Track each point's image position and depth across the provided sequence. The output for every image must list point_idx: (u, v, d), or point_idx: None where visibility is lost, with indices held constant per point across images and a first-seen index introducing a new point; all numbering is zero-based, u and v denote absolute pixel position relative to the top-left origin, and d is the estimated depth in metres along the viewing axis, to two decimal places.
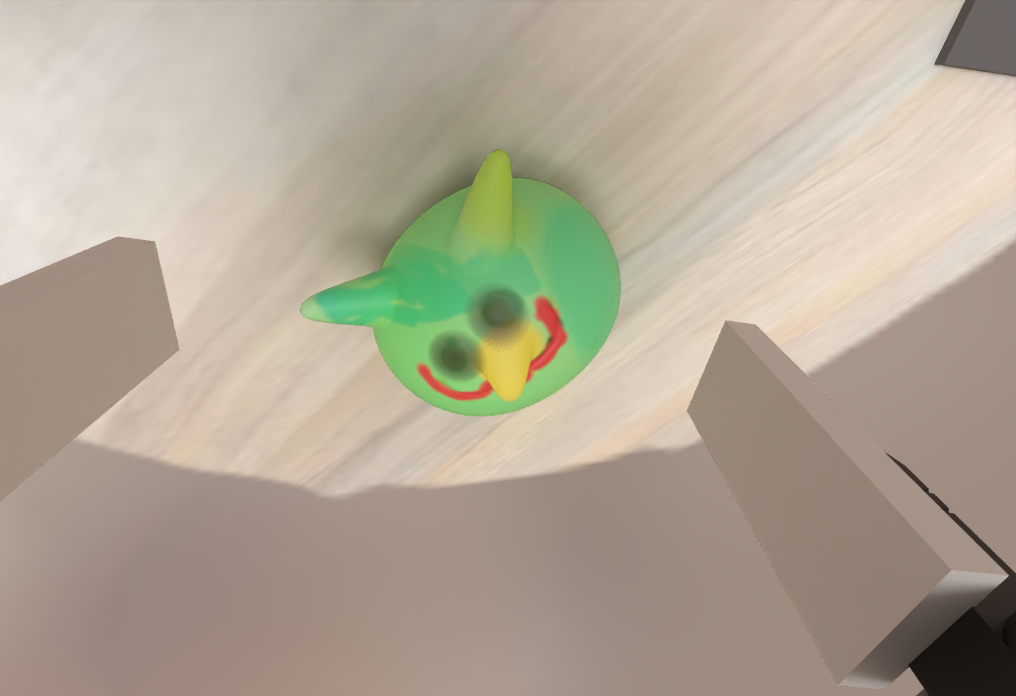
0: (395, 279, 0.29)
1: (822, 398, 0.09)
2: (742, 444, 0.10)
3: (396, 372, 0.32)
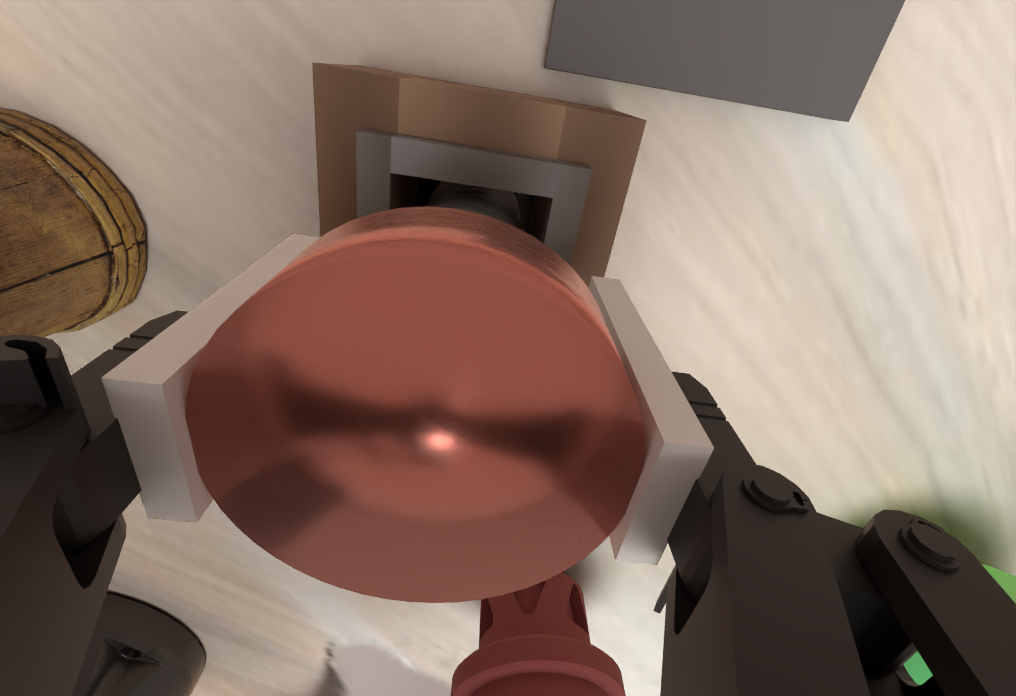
0: None
1: (641, 332, 0.10)
2: None
3: None
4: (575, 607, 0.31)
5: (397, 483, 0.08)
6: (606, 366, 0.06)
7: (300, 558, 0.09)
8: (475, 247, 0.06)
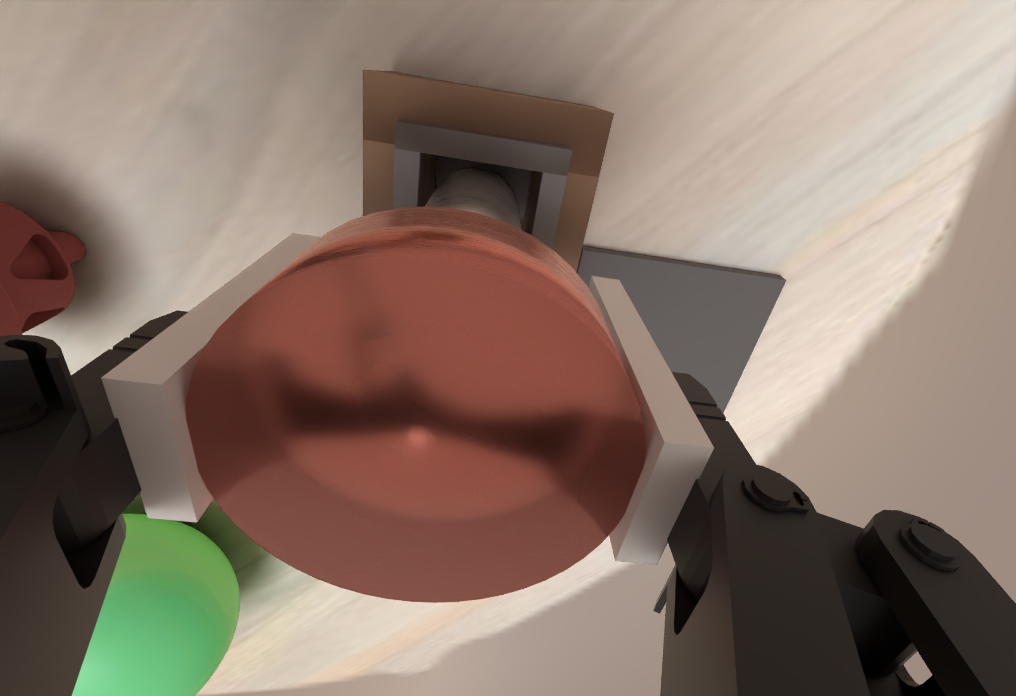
0: None
1: (641, 332, 0.10)
2: None
3: None
4: (30, 316, 0.26)
5: (397, 483, 0.08)
6: (607, 366, 0.06)
7: (300, 558, 0.09)
8: (476, 246, 0.06)
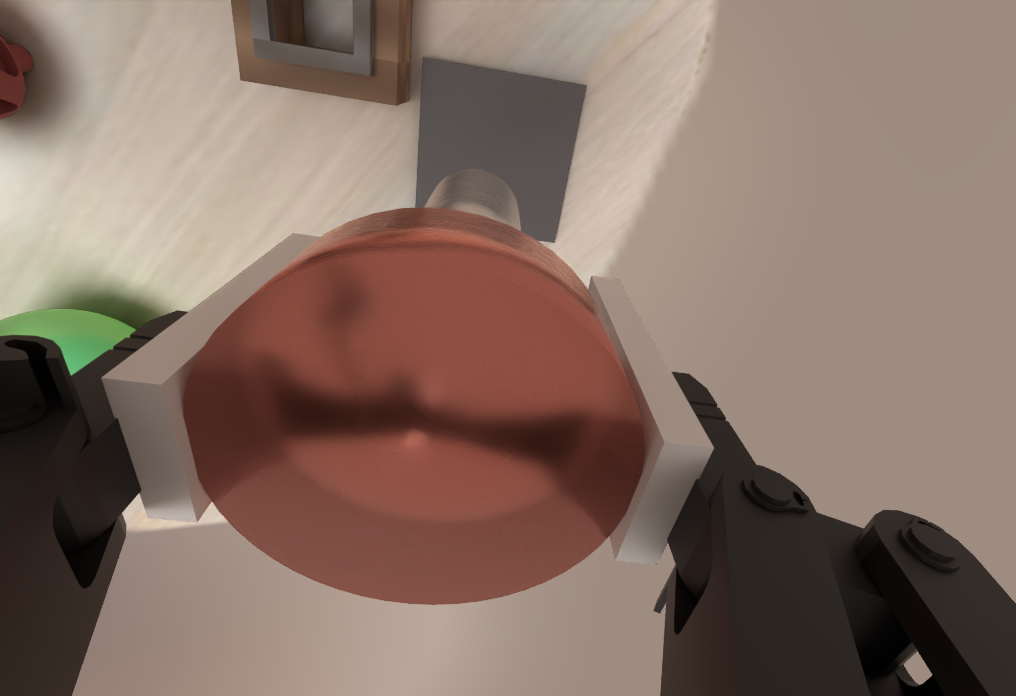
0: None
1: (641, 332, 0.10)
2: None
3: None
4: None
5: (395, 485, 0.08)
6: (606, 368, 0.06)
7: (298, 560, 0.08)
8: (474, 248, 0.06)
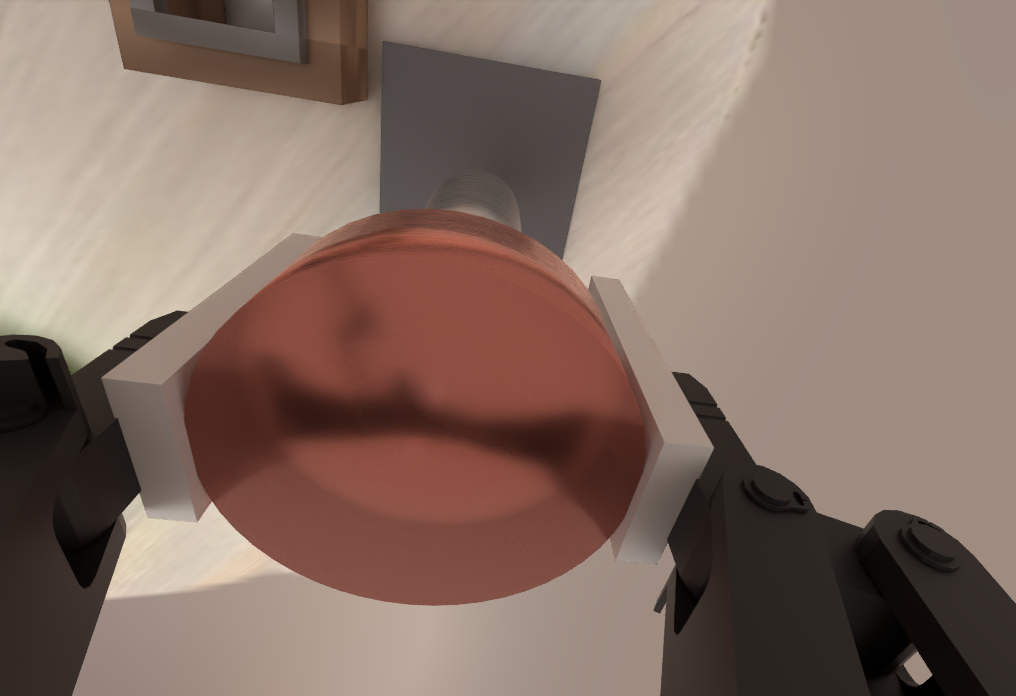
0: None
1: (641, 332, 0.10)
2: None
3: None
4: None
5: (396, 486, 0.08)
6: (607, 369, 0.06)
7: (299, 561, 0.08)
8: (475, 250, 0.06)
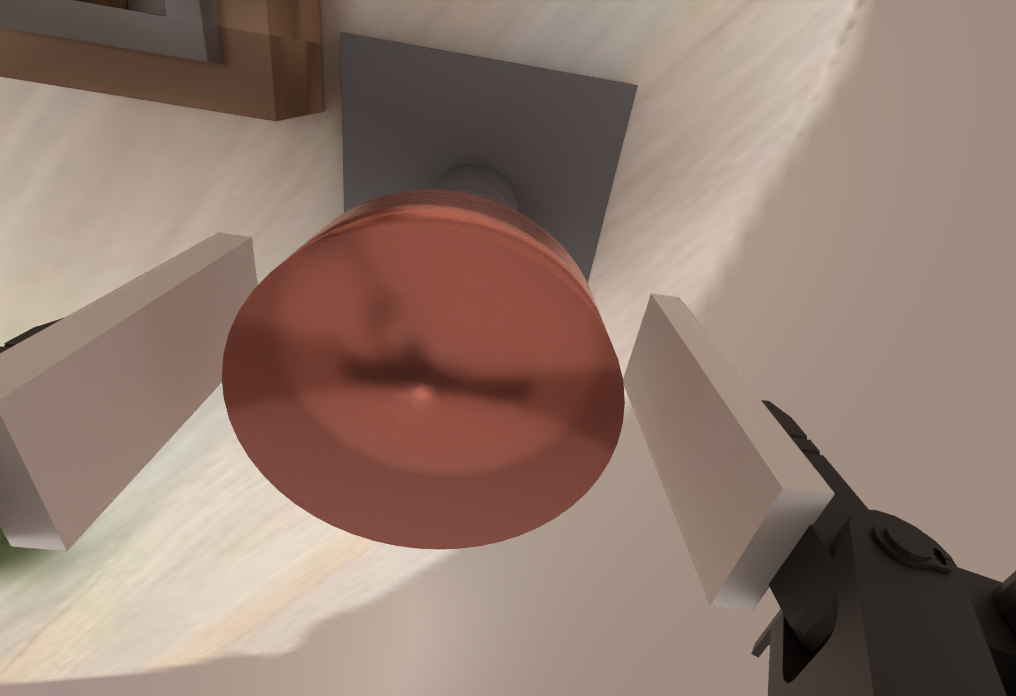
0: None
1: (719, 357, 0.09)
2: (658, 405, 0.11)
3: None
4: None
5: (406, 434, 0.09)
6: (589, 324, 0.07)
7: (318, 505, 0.09)
8: (475, 220, 0.07)
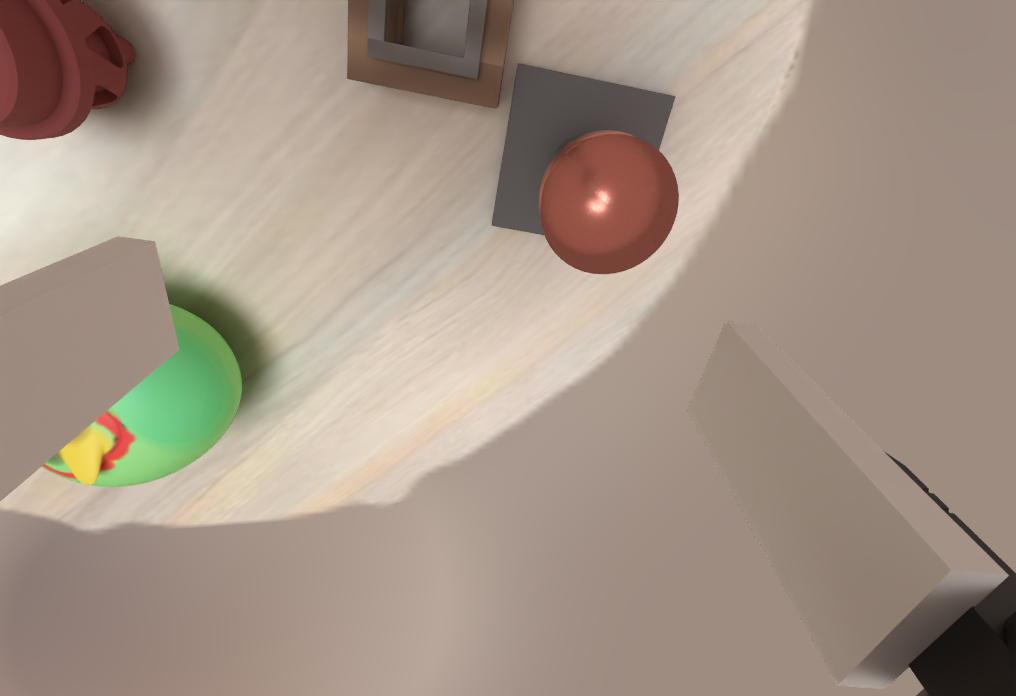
0: None
1: (822, 398, 0.09)
2: (743, 445, 0.10)
3: None
4: None
5: (600, 214, 0.24)
6: (669, 170, 0.23)
7: (559, 248, 0.25)
8: (633, 136, 0.23)
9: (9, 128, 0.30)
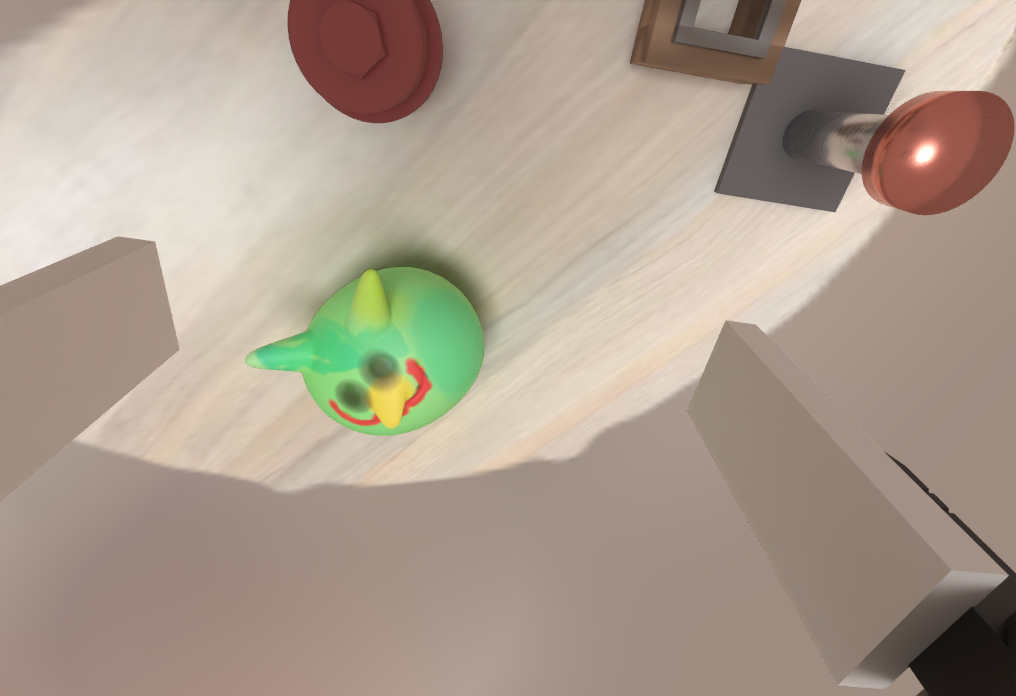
0: (313, 341, 0.41)
1: (822, 398, 0.09)
2: (742, 445, 0.10)
3: (317, 403, 0.44)
4: None
5: (941, 161, 0.29)
6: (1010, 121, 0.28)
7: (897, 193, 0.30)
8: None
9: None
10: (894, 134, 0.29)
